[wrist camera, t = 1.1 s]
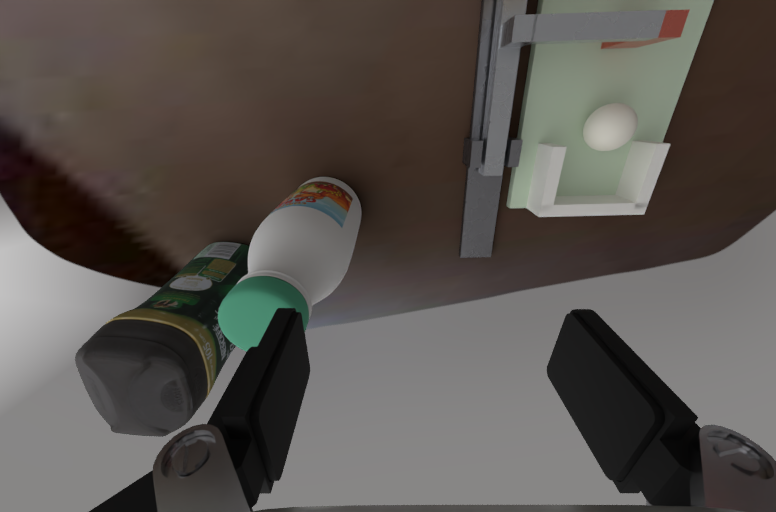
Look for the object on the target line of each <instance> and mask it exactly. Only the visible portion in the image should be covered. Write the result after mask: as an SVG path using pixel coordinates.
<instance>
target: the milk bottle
mask: <svg viewBox="0 0 776 512" xmlns="http://www.w3.org/2000/svg"><path fill="white" fill-rule="evenodd" d="M361 214H362V212H361V205H360V202H359V199H358V197H357V195H356V194H355V192H354V191H353V190H352V189H351V188H350V187H349V186H348V185H347V184H345V183H344V182H342V181H340V180H338V179H335V178H331V177H317V178H313V179H310V180H308V181H306V182H305V183H304V184H302V185H301V186H300V187H299V188H297V189H296V190H295V191H294V192H293V193H292V194H291V195H290V196H288V197H287V198H286V199H285V200H284V201H283V202H282V203H281V204H280V205H279V206H278V207H277V208H276V209H274V210H273V211H272V212H271V213H270V214H269V215H268V217H267V218H266V219H265V220H264V221H263V222H262V223H261V224H260V226H259V227H258V229H257V230H256V232H255V234H254V236H253V238H252V241H251V243H250V247H249V251H248V274H247V275H245V276H244V277H242V278H241V279H240V280H239V281H238V283H237V284H236V285H235V286H234V287H233V288H232V289H231V290H230V292H229V293H228V294H227V295H226V297H225V298H224V299H223V301H222V303H221V305H220V308H219V311H218V323H219V326H220V328H221V330H222V332H223V334H224V335H225V336H226V337H227V339H228V340H229V341H230V342H232V343H233V344H234V345H236V346H237V347H239V348H240V349H242V350H245V351H248V349H249V348H251V347H257V346H258V344H259V342H260V341H261V339H262V337H263V335H264V333H265V331H266V329H267V327H268V325H269V323H270V321H271V319H272V317H273V316H274V314H275V312H276V310H277V309H278V308H295V309H296V312H301V314H302V320H303V326H304V332H305V330H306V327H307V324H308V320H309V318H310V316H311V313H312V306H313V305H314V304H316V303H317V302H319V301H321V300H323V299H324V298H326V297H327V296H328V295H329V294H331V293H332V292H333V291H334V290H335V289H336V288H337V286H338V285H339V284H340V282H341V281H342V279H343V277H344V276H345V274H346V272H347V269H348V266H349V264H350V261H351V257H352V254H353V250H354V246H355V243H356V239H357V235H358V231H359V226H360V222H361Z"/></svg>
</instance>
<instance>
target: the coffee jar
mask: <svg viewBox="0 0 776 512" xmlns="http://www.w3.org/2000/svg"><path fill="white" fill-rule="evenodd" d="M249 247H250V246H247V245H244V244H240V243H235V242H216V243H212V244H210V245H208V246H207V247H206V248H205V249H203V250H202V251H201V252H200V253H199V254H197V255H196V256H195V257H194V258H193V259H192V260H191V261H190V262H189V263H188V264H187V265H186V266H185V267H184V268H183V269H182V270H181V271H180V272H179V273H178V274H176V275H175V276H174V277H173V278H172V279H171V280H170V281H169V282H167V283H166V284H165V285H164V286H163V287H162V288H161V289H160V290H159V291H157V292H156V293H155V294H154V295H153V296H152V297H150V298H149V299H148V300H147V301H145V302H144V303H142V304H141V305H140V306H138V307H137V308H135V309H133V310H130V311H127V312H124V313H122V314H120V315H118V316H116V317H114V318H113V319H111V320H110V321H108V322H107V323H106V324H105V325H104V326H102V327H101V328H100V329H99V330H98V331H97V332H96V333H95V334H94V335H93V336H92V337H91V338H90V339H89V340H88V341H87V342H86V343H85V344H84V345H83V346H82V347H81V348H80V349H79V350H78V352H77V353H76V357H75V361H76V365H77V368H78V371H79V373H80V376H81V379H82V381H83V383H84V385H85V388H86V390H87V392H88V394H89V396H90V398H91V400H92V402H93V404H94V406H95V407H96V409H97V411H98V412H99V413H100V415H101V416H102V417H103V418H104V420H106V422H107V423H108V424H109V425H110V426H111V430H112V431H113V432H115V433H122V434H131V435H142V436H166V435H168V434H169V433H171V432H173V431H175V430H177V429H179V428H181V427H182V426H183V425H185V424H186V423H187V422H188V421H189V420H190V419H191V418H192V416H193V415H194V414H195V412H196V411H197V410H198V408H199V407H200V406H201V404H202V403H203V402H204V400H205V399H206V398H207V396H208V395H209V393H210V391H211V389H212V387H213V385H214V383H215V380H216V378H217V377H218V375H219V373H220V371H221V369H222V367H223V365H224V363H225V362H226V360H227V359H228V357H229V355H230V354H231V352H232V351H233V349H234V348H235V346H236V345H234V344H233V343H232V342H230V341H229V340H228V339H227V337H226V336H225V335H224V334H223V332H222V330H221V328H220V326H219V323H218V311H219V308H220V305H221V303H222V301H223V299H224V298H225V297H226V295H227V294H228V293H229V292H230V290H231V289H232V288H233V287H234V286H235V285H236V284H237V283H238V281H239V280H240V279H241V278H242V277H244V276H245V275H247V274H248V251H249Z"/></svg>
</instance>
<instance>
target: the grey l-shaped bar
mask: <svg viewBox="0 0 776 512" xmlns="http://www.w3.org/2000/svg"><path fill="white" fill-rule="evenodd" d="M526 5H527V0H497V3H496V13H495V22H494V31H493V41H492V50H491V59H490V68H489V78H488V87H487V96H486V106H485V115H484V124H483V134H482V141H483V149H482V158H481V167H480V168H479V171H478V172H479V173H480V174H481V175H483V176H502V172H503V165H504V158H505V151H506V145H507V138H508V131H509V124H510V117H511V110H512V103H513V96H514V89H515V82H516V75H517V68H518V61H519V54H520V48H521V47H523V46H525V45H534V44H565V43H596V42H602V45H601V49H614V48H637V47H641V46H645V45H650V44H654V43H658V42H662V41H666V40H671V39H675V38H679V37H681V34H682V31H683V28H684V25H685V22H686V19H687V16H688V13H689V11H690V9H688V10H647V11H618V12H588V13H558V14H529V15H525V12H526Z"/></svg>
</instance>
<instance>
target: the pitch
mask: <svg viewBox="0 0 776 512" xmlns="http://www.w3.org/2000/svg"><path fill="white" fill-rule="evenodd" d="M713 2H714V0H538V6H537V12H536V14H558V13H588V12H618V11H647V10H688V9H690V11H689V13H688V16H687V19H686V22H685V25H684V28H683V31H682V34H681V37H679V38H675V39H671V40H666V41H662V42H658V43H654V44H650V45H645V46H641V47H637V48H614V49H601V45H602V42H596V43H565V44H534V45H531V51H530V57H529V64H528V70H527V76H526V83H525V89H524V96H523V102H522V108H521V115H520V121H519V128H518V134H517V138H518V139H522V140H523V142H522V148H521V154H520V160H519V166H518V167H512V172H511V179H510V185H509V192H508V198H507V204H506V206H507V207H509V208H526V206H527V201H528V196H529V190H530V185H531V180H532V174H533V169H534V164H535V158H536V153H537V148H538V143H553V144H557V145H562V146H566V147H567V148H566V152H565V157H564V161H563V165H562V170H561V174H560V178H559V183H558V187H557V192H556V196H589V195H615V194H616V191H617V188H618V184H619V181H620V178H621V175H622V172H623V169H624V166H625V162H626V159H627V156H628V153H629V150H630V147H631V144H632V141H642V140H645V141H653V142H661V143H662V142H663V139H664V137H665V134H666V131H667V128H668V126H669V123H670V120H671V117H672V115H673V112H674V109H675V106H676V104H677V101H678V98H679V95H680V93H681V90H682V87H683V84H684V82H685V79H686V76H687V73H688V71H689V68H690V65H691V62H692V60H693V57H694V54H695V51H696V49H697V46H698V43H699V40H700V38H701V35H702V32H703V29H704V26H705V24H706V21H707V18H708V15H709V13H710V10H711V7H712V4H713ZM611 103H623V104H626V105H628V106H630V107H631V108H633V109H634V111H635V112H636V114H637V117H638V126H637V129H636V132H635V134H634V135H633V137H632V138H631V139H630V140H629V141H628V142H627V143H626V144H624V145H623V146H621V147H619V148H617V149H614V150H610V151H598V150H595V149H592V148H591V147H589V146H588V145H587V144H586V142H585V141H584V138H583V127H584V124H585V122H586V120H587V119H588V117H589V116H590V115H591V114H592V113H593V112H594V111H595V110H597V109H598V108H600V107H602V106H604V105H607V104H611Z"/></svg>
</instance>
